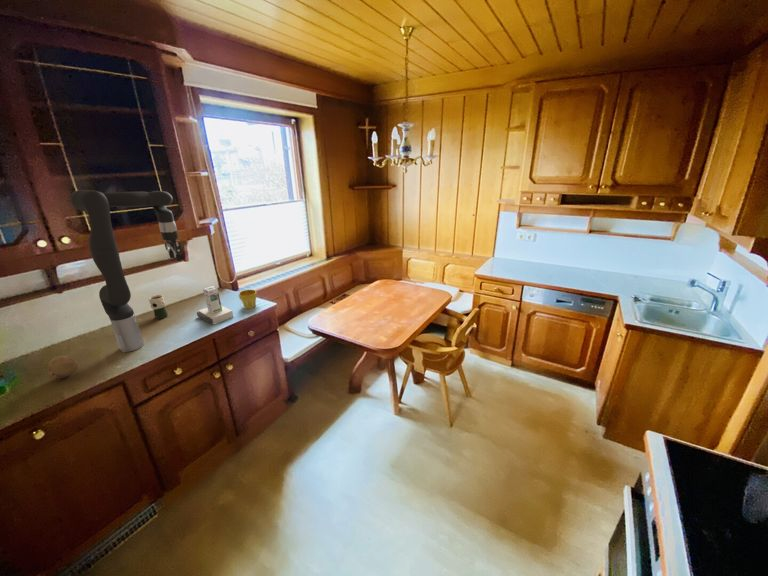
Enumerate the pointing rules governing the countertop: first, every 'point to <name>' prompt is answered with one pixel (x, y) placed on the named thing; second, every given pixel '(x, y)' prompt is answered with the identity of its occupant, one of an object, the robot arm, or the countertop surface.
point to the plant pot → (248, 298)
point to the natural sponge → (61, 367)
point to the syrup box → (212, 299)
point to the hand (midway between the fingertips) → (175, 259)
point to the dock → (215, 315)
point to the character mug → (158, 306)
